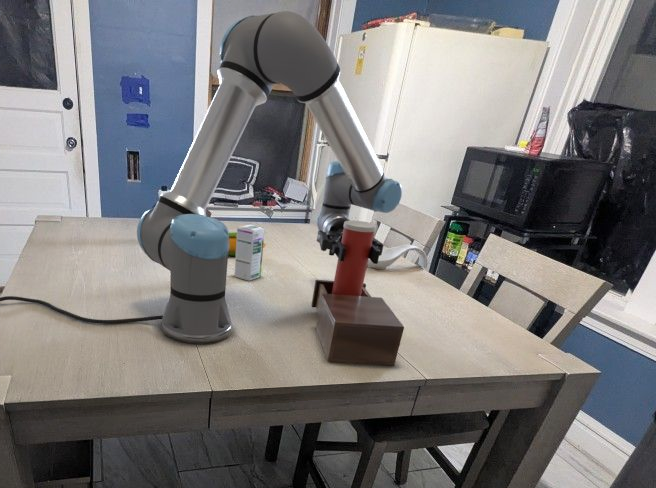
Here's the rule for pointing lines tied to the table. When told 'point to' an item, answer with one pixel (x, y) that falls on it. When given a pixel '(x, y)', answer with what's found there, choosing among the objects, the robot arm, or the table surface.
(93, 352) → the table surface
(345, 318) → the cabinet
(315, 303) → the drawer
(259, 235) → the syrup box
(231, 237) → the corn
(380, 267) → the spoon rest
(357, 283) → the crisps tube
